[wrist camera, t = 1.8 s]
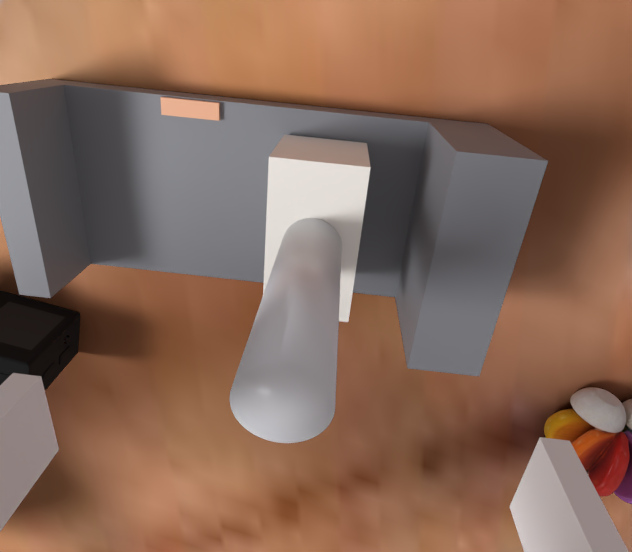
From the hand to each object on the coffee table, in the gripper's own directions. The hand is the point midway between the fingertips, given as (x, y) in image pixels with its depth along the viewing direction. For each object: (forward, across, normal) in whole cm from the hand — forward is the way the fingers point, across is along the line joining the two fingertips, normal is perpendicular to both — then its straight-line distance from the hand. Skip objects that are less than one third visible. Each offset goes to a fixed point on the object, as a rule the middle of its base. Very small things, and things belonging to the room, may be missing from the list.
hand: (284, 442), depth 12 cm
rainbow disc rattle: (+22, +25, -17) cm, 38 cm away
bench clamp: (+22, -4, 0) cm, 22 cm away
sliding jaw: (+20, 0, 0) cm, 20 cm away
